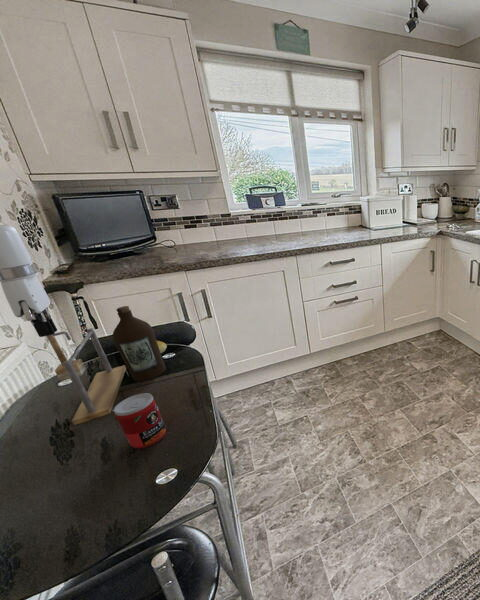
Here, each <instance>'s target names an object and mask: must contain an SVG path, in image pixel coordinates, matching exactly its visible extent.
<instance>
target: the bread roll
mask: <svg viewBox="0 0 480 600" xmlns="http://www.w3.org/2000/svg"><path fill="white" fill-rule="evenodd" d="M157 343H158V346H159V350H160V353H161V354H163V353H164V352H166V350H167V347H168V346H167V344H166V343H165V342H163V341H160V340H157Z"/></svg>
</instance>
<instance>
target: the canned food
mask: <svg viewBox="0 0 480 600" xmlns="http://www.w3.org/2000/svg"><path fill="white" fill-rule="evenodd" d="M113 410H114V411H113V412H114V416H115V417H116V419H117V421H118V423H119V425H120V428H121V430H122V431H123V433H124V436H125V437H126V440H127V442H128V443H129V445H130V446H131V447H132V448H134V449H136V448H137V449H136V450H139V449H140V448H141V449H145V447H146V448H149V447H151V446H153V445H155V444H157V443H158V442H160V441H161V440H162V439H163V438H164V437H165V435H166V434H167V425H166V424H165V422H164V419H163V416H162V414H161V412H160V410H159V407H158V404H157V403H156V400H155V397H154V396H153V395H152V394H151V393H147V392H145V393H139V394H135V395H131V396H129V397H127V398H125V399H123V400H122V401H120V402H119V403H118V404H116V405H115V406H114V407H113ZM156 442H157V443H156ZM148 446H149V447H148Z"/></svg>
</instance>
